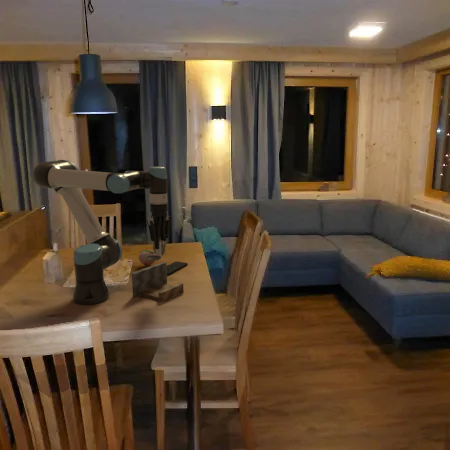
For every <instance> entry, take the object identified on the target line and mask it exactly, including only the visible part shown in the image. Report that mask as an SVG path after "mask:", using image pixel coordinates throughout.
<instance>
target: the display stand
mask: <svg viewBox="0 0 450 450" xmlns="http://www.w3.org/2000/svg"><path fill="white" fill-rule="evenodd" d="M167 266H168V265H167V262H166V261H161V262H159V263H156V264H152V265H150V266H146V267H145V268H141V269H139V270H136V271H134V272H131V284H132V285H131V286H132V297H133V298H138V297H141V296H142V297H145V298H147V299H152V300H154V301H159V302H161V303H162V301H163V302H165V301H167V300H169V299H171V297H172V298H173V296H174V297H176V296H178V295H180V294H182V293H184V283H183V282H179V283H177V284H174V285H170V284H168V276H167Z"/></svg>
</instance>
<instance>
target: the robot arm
mask: <svg viewBox="0 0 450 450" xmlns="http://www.w3.org/2000/svg"><path fill="white" fill-rule="evenodd" d="M32 179H33V181H34V183H35V184H36V185H37V186H39V187H40V188H44V189H53V191H55V193H56V195H58V196H59V195H60V196H61V197H62V199H63V200H64V203H65V205H67V207H68V209H69V211H70V212H71V215H72V216H73V218H74V220H75V222H76V224H77V225H78V227H79V228H80V230H81V232H82V234H83V235H84V237H85V239H86V242H87V243H86V244H82V245H80V246H78V247H76V248H75V250H74V251H73V262H74V263H73V265H74V275H75V276H74V277H75V286H74V290H73V294H72V300H73V301H72V302H74V303H75V304H77V305H83V306H87V305H88V306H89V305H90V306H91V305H95V304H100V303H103V302H105V301H107V300H108V299H109V298H110V291H109V288H108V287H107V284H106V282H105V279H104V276H105V275H104V270H106V269H107V268H109V267H111V266H113V265H115V264H116V263H118V262H119V261H121V258H122V256H123V253H124V252H123V246H122V244H121V242H120V241H119V240H118V239H115V238H112V236H111V234H110V233H108V232H105V229H104V228H103V227H102V225H101V223H100V221H99V220H98V218H97V216H96V214H95V212H94V211H93V209H92V208H91V206H90V203H89V202H88V200H87V199H86V196H85V195H84V192H83V191H82V189H83V190H96V191H104V192H105V191H107V192H111V193H113V194H124V193H126V192H130V191H133V190H139V189H146V190H148V189H149V211H150V213H151V215H150V219H147V220H146V224H147V226H148V231H149V236H150V241H151V242H153V241H154V242H155V249H156V254H155V255H156V256H161V257H162V256H165V255H166V254H165V252H166V251H165V252H164V254H163V255H162V253H161V242H162V243H163V245H164V247H165V241H166V242H167V240H168V238H169V236H170V229H171V228H170V227H171V226H170V224H171V220H172V216H170V215H168V212H169V208H168V206H169V204H168V203H167V202H168V174H167V168H166V167H164V166H150V167H148V170H147V171H143V170H126V171H124V172H122V173H118V172H103V171H93V170H81V169H80V170H79V168H78V166H77V164H75V163H74V162H72V161H70V160H66V159H59V160H52V161H49V160H48V161H43V162H39V163H38V164H36V166H35V167H34V168H33V170H32ZM160 237H161V239H160ZM166 238H167V239H166ZM154 242H153V243H154Z"/></svg>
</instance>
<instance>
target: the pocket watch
mask: <svg viewBox="0 0 450 450" xmlns="http://www.w3.org/2000/svg"><path fill="white" fill-rule="evenodd" d="M160 239H161V237H160ZM152 247H153V248H152V249H153V250H152V251H154V252H155V255H151V256H147V257H146V260H148V261H155V262H157V261H160V260H162V256H163V254H164V252H166V248H165V247H164V245H163V243H162V242H161V253H162V256H156V249H155V243H154V242H153V245H152Z"/></svg>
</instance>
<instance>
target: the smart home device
mask: <svg viewBox="0 0 450 450" xmlns="http://www.w3.org/2000/svg"><path fill="white" fill-rule="evenodd" d="M186 267H188V262H184V261H183V262H182V261H174V262H172V263H170V264H168V265H167V277H168V276H171V275H173V274H174V273H177V272H178V271H180V270H182V269H183V268H186Z"/></svg>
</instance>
